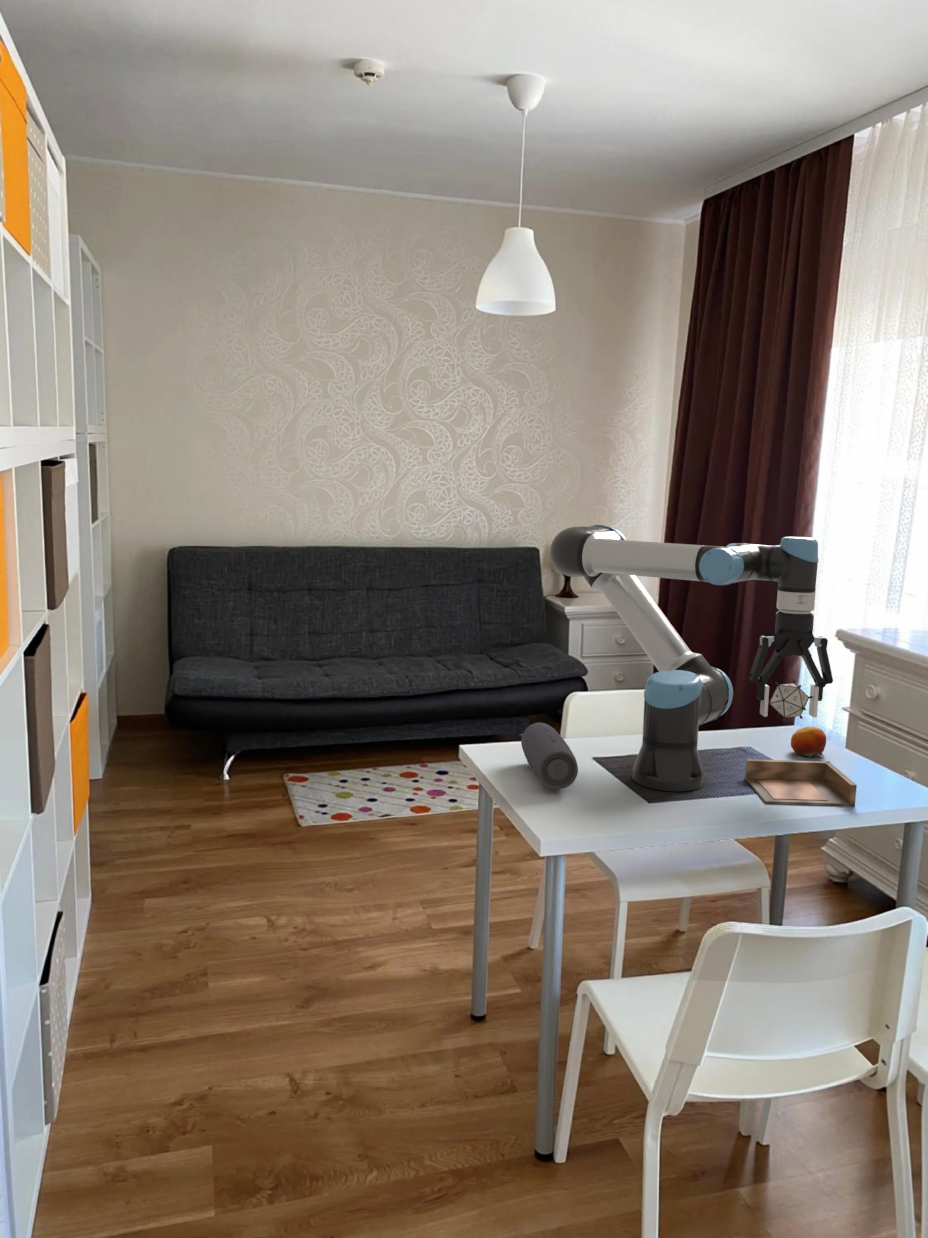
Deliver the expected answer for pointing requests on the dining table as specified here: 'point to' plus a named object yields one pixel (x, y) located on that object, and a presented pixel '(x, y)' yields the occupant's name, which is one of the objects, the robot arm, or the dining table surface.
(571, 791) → the dining table surface
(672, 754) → the robot arm
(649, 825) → the dining table surface
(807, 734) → the fruit
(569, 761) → the bluetooth speaker
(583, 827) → the dining table surface
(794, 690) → the game die
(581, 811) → the dining table surface
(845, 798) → the brown wooden tray
